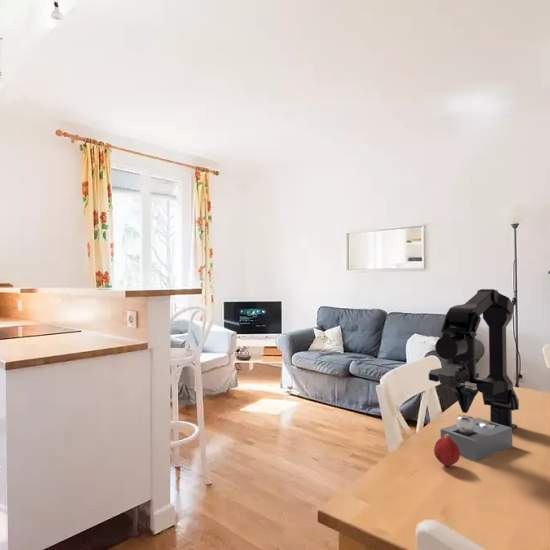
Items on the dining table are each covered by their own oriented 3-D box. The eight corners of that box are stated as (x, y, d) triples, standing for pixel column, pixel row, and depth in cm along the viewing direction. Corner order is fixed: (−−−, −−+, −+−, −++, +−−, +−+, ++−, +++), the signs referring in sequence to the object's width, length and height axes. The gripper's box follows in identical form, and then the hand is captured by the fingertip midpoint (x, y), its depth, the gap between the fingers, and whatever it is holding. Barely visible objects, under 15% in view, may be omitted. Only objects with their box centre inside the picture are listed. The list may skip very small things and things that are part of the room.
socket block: (477, 434, 118) (477, 417, 118) (512, 446, 110) (511, 427, 110) (440, 447, 110) (440, 429, 110) (475, 461, 101) (475, 441, 101)
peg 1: (462, 431, 110) (462, 413, 110) (476, 435, 106) (476, 417, 107) (453, 434, 108) (453, 416, 108) (467, 438, 104) (467, 420, 104)
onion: (433, 469, 97) (432, 436, 97) (435, 459, 102) (435, 428, 102) (459, 474, 94) (458, 440, 95) (460, 464, 100) (460, 431, 100)
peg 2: (484, 437, 115) (484, 420, 115) (498, 441, 112) (497, 424, 112) (476, 440, 113) (475, 423, 113) (490, 444, 110) (489, 427, 110)
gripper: (415, 352, 111) (416, 408, 111) (478, 363, 95) (480, 429, 95) (440, 348, 117) (441, 401, 117) (505, 358, 101) (506, 420, 101)
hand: (464, 412), depth 107 cm, fingers closed
